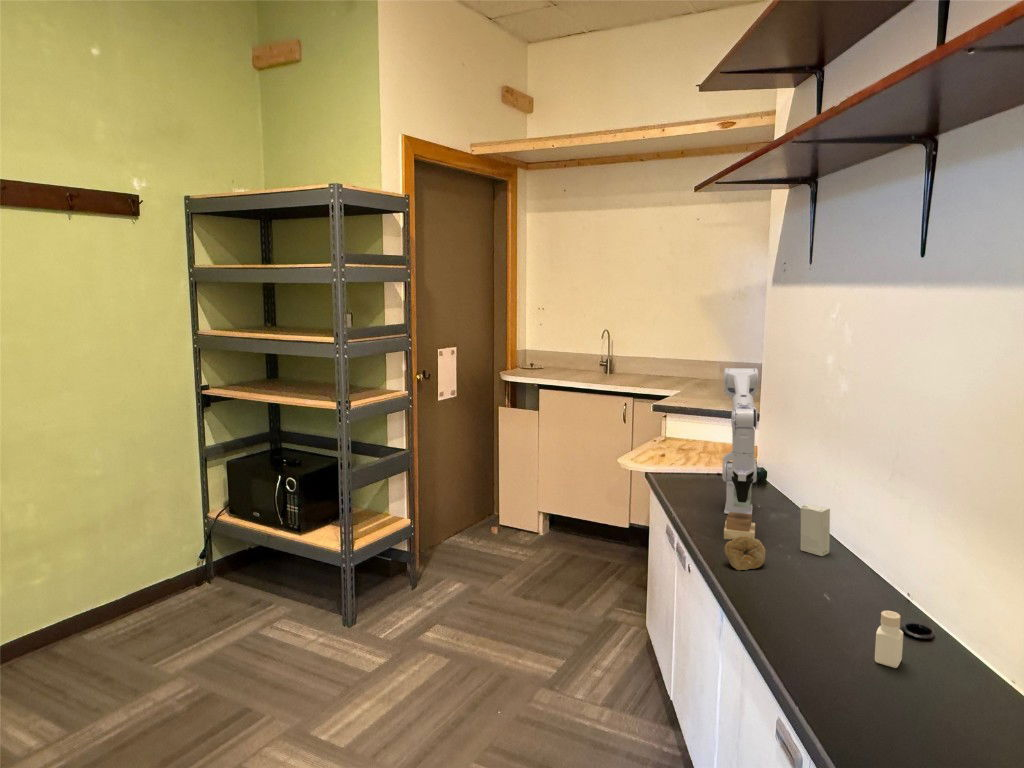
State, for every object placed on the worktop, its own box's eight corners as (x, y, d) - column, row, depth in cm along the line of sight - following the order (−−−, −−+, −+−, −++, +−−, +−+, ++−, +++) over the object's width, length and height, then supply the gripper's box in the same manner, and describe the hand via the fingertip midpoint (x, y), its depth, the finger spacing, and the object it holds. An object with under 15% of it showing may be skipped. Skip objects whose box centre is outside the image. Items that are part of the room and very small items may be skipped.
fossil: (719, 541, 180) (755, 529, 182) (716, 549, 183) (751, 537, 185) (737, 573, 175) (773, 561, 176) (733, 580, 178) (769, 568, 180)
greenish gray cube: (736, 502, 201) (736, 484, 200) (751, 503, 199) (751, 486, 198) (733, 506, 197) (733, 488, 197) (748, 508, 195) (748, 490, 195)
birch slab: (725, 530, 205) (725, 520, 204) (755, 533, 202) (755, 523, 201) (723, 540, 197) (724, 530, 197) (754, 543, 195) (754, 532, 194)
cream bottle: (878, 654, 137) (881, 607, 135) (902, 660, 134) (905, 613, 133) (873, 663, 134) (876, 615, 132) (897, 670, 131) (900, 621, 130)
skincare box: (829, 552, 186) (831, 508, 184) (821, 557, 183) (823, 512, 181) (807, 546, 190) (809, 502, 188) (798, 550, 187) (800, 506, 186)
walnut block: (729, 522, 203) (729, 511, 202) (751, 524, 200) (751, 514, 200) (726, 529, 197) (726, 518, 197) (749, 531, 195) (749, 521, 195)
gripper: (729, 444, 204) (728, 490, 206) (726, 457, 190) (725, 506, 192) (755, 445, 202) (754, 492, 204) (754, 458, 188) (753, 508, 190)
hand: (742, 499), depth 198 cm, fingers closed on greenish gray cube, 4 cm apart
